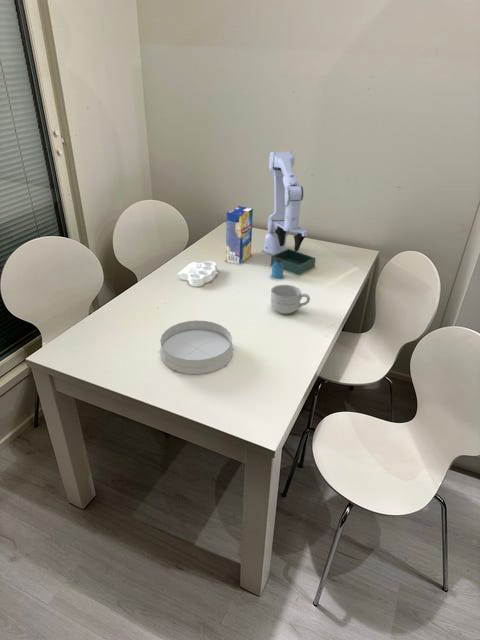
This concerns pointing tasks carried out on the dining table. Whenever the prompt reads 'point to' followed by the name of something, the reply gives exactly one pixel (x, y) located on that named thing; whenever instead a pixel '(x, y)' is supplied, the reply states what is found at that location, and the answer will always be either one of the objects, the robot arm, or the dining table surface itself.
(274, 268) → the bottle
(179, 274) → the white scalloped tray
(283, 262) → the bin
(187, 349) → the dish
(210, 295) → the dining table surface
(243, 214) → the beverage box
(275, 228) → the robot arm
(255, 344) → the dining table surface
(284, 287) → the teacup
